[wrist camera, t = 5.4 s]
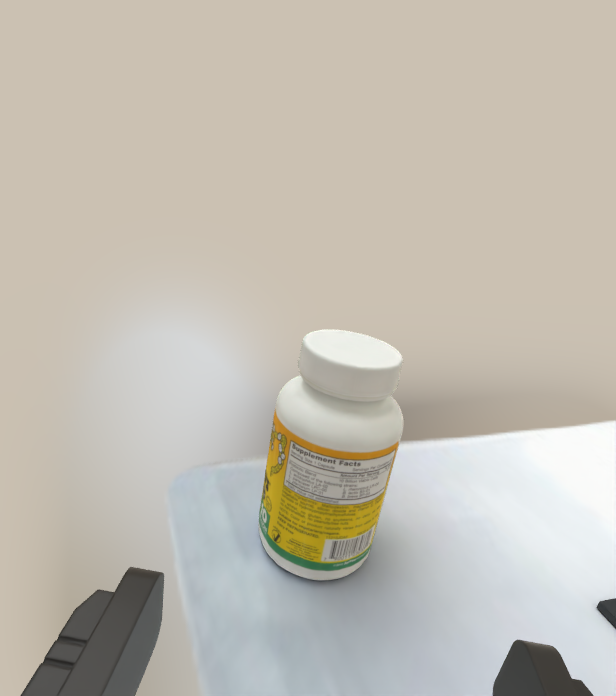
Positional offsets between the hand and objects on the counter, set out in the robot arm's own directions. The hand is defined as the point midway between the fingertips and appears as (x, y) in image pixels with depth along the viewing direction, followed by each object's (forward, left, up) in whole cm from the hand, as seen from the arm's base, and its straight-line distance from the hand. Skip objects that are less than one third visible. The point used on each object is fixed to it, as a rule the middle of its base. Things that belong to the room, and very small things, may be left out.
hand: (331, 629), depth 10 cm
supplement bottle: (+3, +8, -6) cm, 11 cm away
